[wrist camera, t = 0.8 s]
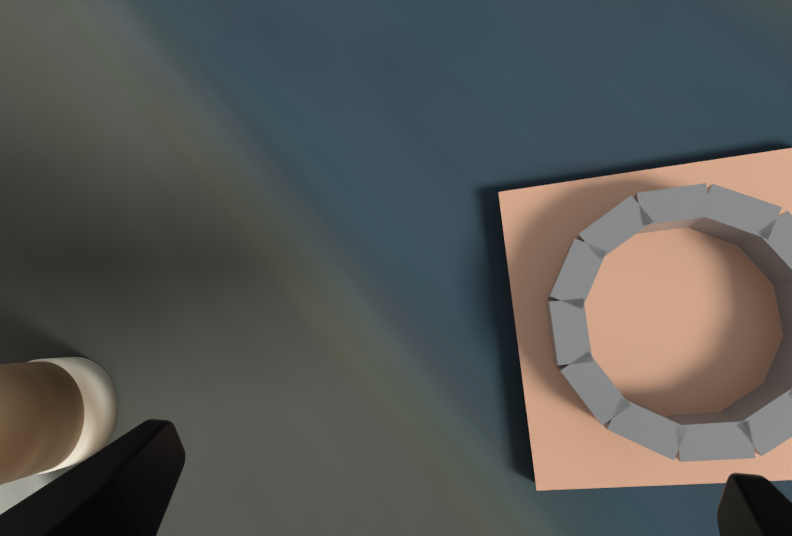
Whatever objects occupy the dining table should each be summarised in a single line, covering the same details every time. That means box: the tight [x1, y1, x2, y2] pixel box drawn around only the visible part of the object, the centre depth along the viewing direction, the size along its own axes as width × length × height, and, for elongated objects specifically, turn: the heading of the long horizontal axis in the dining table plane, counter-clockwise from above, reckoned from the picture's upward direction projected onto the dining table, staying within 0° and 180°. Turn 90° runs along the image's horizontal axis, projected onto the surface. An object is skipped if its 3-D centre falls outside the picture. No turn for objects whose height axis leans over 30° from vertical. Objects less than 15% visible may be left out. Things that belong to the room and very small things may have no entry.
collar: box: [498, 148, 792, 490], centre depth 20 cm, size 12×12×3 cm
